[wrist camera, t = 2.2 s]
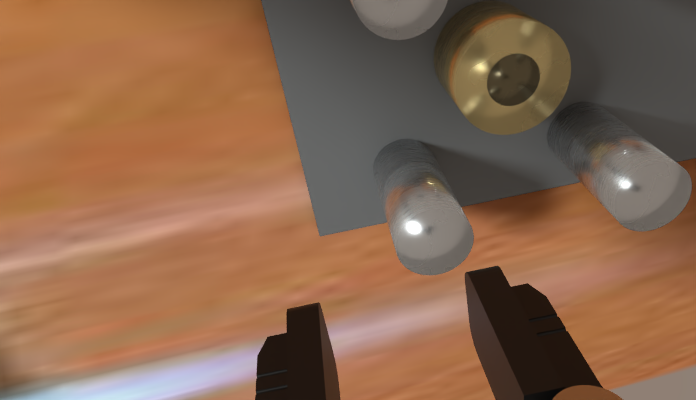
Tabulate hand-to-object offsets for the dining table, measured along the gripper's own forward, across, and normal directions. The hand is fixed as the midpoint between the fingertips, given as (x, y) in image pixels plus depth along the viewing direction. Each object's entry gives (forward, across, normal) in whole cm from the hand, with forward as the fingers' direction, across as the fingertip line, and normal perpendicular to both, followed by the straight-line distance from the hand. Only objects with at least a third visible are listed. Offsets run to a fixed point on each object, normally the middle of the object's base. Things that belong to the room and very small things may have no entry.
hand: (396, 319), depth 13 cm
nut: (+17, -7, 0) cm, 18 cm away
